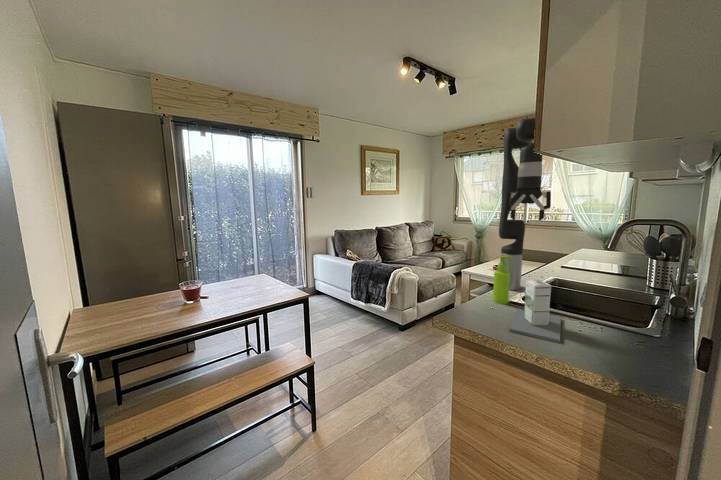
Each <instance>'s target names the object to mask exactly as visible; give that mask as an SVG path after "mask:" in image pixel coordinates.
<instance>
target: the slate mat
mask: <svg viewBox="0 0 721 480" xmlns="http://www.w3.org/2000/svg"><path fill="white" fill-rule="evenodd" d="M524 311H525V309H521V308H517V310H516V311H515V314H514V317H513V319H512V322H511V325H510V327H509V332H510V333H514V334H519V335H522V336H527V337H531V338H536V339H540V340H541V339H542V340H545V341H549V342H554V343H559V344H560V343H561V324H562V323H561V321H562V320H561V319H562V317H561V316H560V315H559V316H558V315H551V314H549V323H548V325H532V324H530V323H529V322H528V321H527V320H526V319H524Z"/></svg>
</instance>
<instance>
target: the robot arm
mask: <svg viewBox="0 0 721 480" xmlns="http://www.w3.org/2000/svg"><path fill="white" fill-rule="evenodd" d="M535 118H536V117H529V118H527V117H526V118H523V119H521V120H519V121H518V122H517V124H516V127H509V128H506V129H505V131H504V134H503V170H502V179H501V180H502V181H501V207H500V219H499V226H498V235H499V238H500V240H501V239H502V240H514V242H512V243H510V244H507V245H503V246H502V247H501V249H500V256H511V257H513V258H505V263H506V264H507V271H508V272H510V277H509V291H518V290H521V284H522V283H521V282H522V268H523V265H522V264H523V255H524V254H523V253H524V252H523V251H524V241H525V240H524V239H525V232H526V224H525V221H524V220H521V219H518V220H517V219H516V213H517V210H516V209H517V208H518V206H519V205H520V204H522V205H524V204H530V205H533V204H535V205H536V206H537V207H538V208H539V211H538V213H539V214H538V215H539V216H538V221H540V222H542V220H543V219H544V218H545V211H546V210H548V209H550V208H551V206H552V199H551V198H552V192H551V191H542V175H543V154H542V155H540V154H537V153H534V152H535V151H534V150H533V149H534V144H535V143H533V144H532V141H533V140H534V130H535ZM514 149H515V150H517V149H519V150H520V151H519V152H520V153H519V164H517V162H516V161H515V160H516V159H514V156H513V152H512V150H514ZM542 196H543V197H544V198H545V199H546V203H545V205H543V203H542V202H541V201H540V200H539V199H540V198H541V197H542ZM509 215H510V219H508V218H509Z"/></svg>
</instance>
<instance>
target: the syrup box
mask: <svg viewBox="0 0 721 480" xmlns="http://www.w3.org/2000/svg"><path fill="white" fill-rule="evenodd" d="M551 293H552V285H551V284H549V283H547V282H545V281H543V280H541V279H540V280H539V279H538V280H537V279H531V280H526V281H525V293H524V294H525V296H524V310H525V311H524V319H526V320H527V321H528V322H529V323H530V324H532V325H548V323H549V315H550V307H551Z"/></svg>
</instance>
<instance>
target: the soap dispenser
mask: <svg viewBox="0 0 721 480" xmlns="http://www.w3.org/2000/svg"><path fill="white" fill-rule="evenodd" d="M498 258H499V259H500V261H499V262H498V263H497V269H496V270H494V271H493V272H494V274H493V291H492V302H494V303H496V304H499V305H500V304H501V305H507V304H508V303H509V291H510V290H509V277H510V272H508V271H507V264H506V263H505V258H513V257H511V256H501V255H499V256H498Z"/></svg>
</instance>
